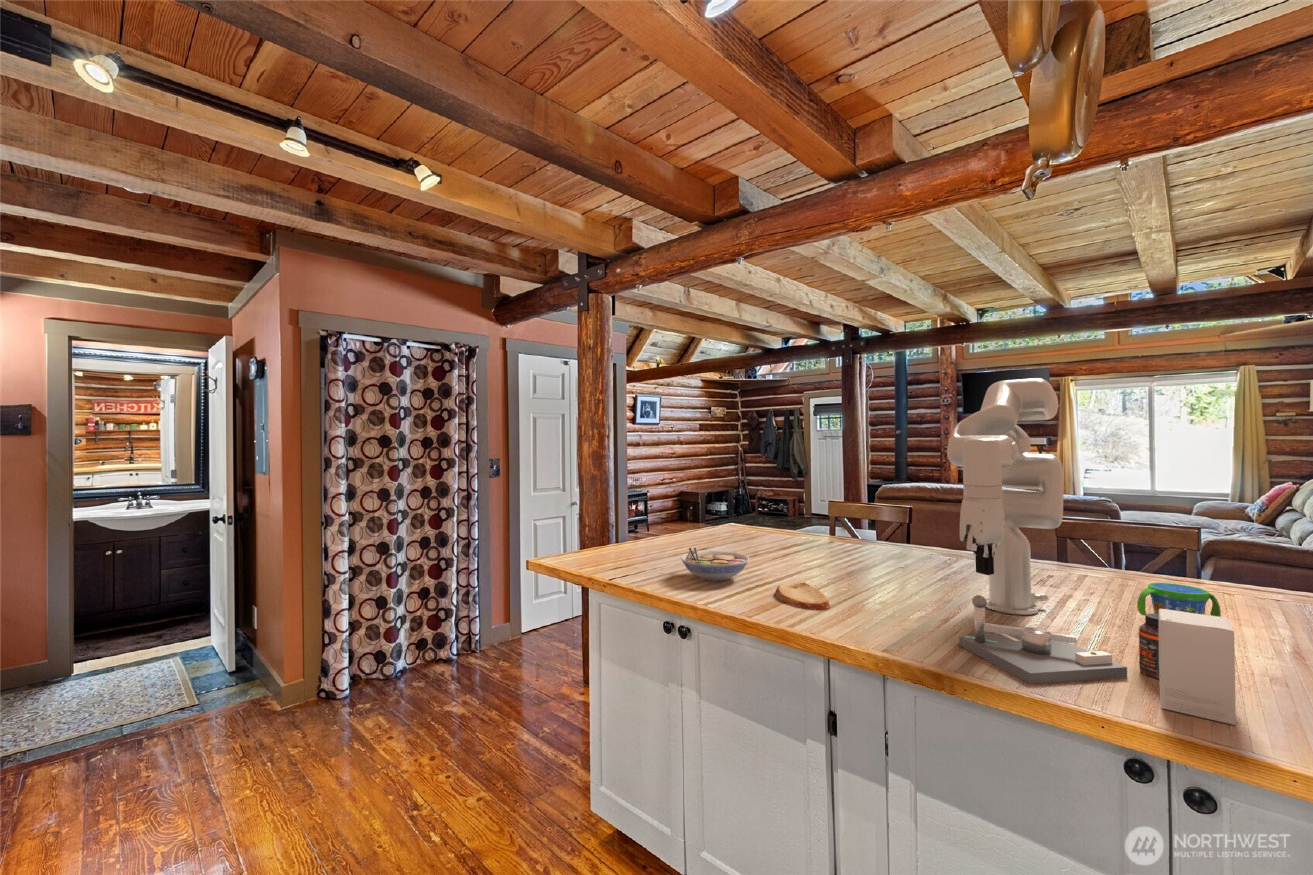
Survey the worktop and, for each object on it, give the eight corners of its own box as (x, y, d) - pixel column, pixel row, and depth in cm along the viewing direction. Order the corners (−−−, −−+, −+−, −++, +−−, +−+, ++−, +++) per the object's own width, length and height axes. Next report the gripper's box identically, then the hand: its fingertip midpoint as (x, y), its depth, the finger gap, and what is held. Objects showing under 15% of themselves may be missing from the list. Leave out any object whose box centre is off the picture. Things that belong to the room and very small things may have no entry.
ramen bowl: (755, 588, 171) (755, 562, 171) (682, 589, 172) (681, 562, 172) (744, 570, 196) (743, 547, 196) (679, 570, 197) (679, 547, 197)
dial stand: (1041, 640, 124) (1041, 623, 124) (1127, 677, 104) (1126, 656, 105) (959, 645, 122) (958, 627, 122) (1030, 684, 102) (1030, 662, 102)
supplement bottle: (1131, 669, 108) (1129, 611, 108) (1158, 668, 109) (1157, 610, 109) (1161, 683, 102) (1160, 621, 102) (1190, 681, 103) (1189, 620, 103)
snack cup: (1205, 627, 132) (1204, 584, 132) (1236, 642, 122) (1235, 596, 122) (1126, 621, 137) (1125, 580, 137) (1150, 635, 127) (1149, 591, 127)
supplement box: (1238, 727, 86) (1235, 630, 86) (1160, 709, 92) (1158, 619, 92) (1231, 706, 93) (1229, 617, 93) (1159, 690, 99) (1157, 607, 99)
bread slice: (828, 613, 147) (828, 599, 147) (763, 604, 156) (763, 590, 156) (842, 596, 163) (842, 584, 163) (782, 589, 172) (782, 577, 172)
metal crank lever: (1074, 650, 112) (1073, 603, 112) (1077, 659, 108) (1076, 609, 108) (973, 635, 121) (972, 591, 122) (972, 642, 117) (971, 597, 117)
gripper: (986, 488, 131) (989, 564, 132) (945, 494, 124) (947, 575, 125) (1019, 491, 124) (1021, 571, 125) (977, 497, 118) (980, 583, 118)
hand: (984, 573), depth 125 cm, fingers closed
